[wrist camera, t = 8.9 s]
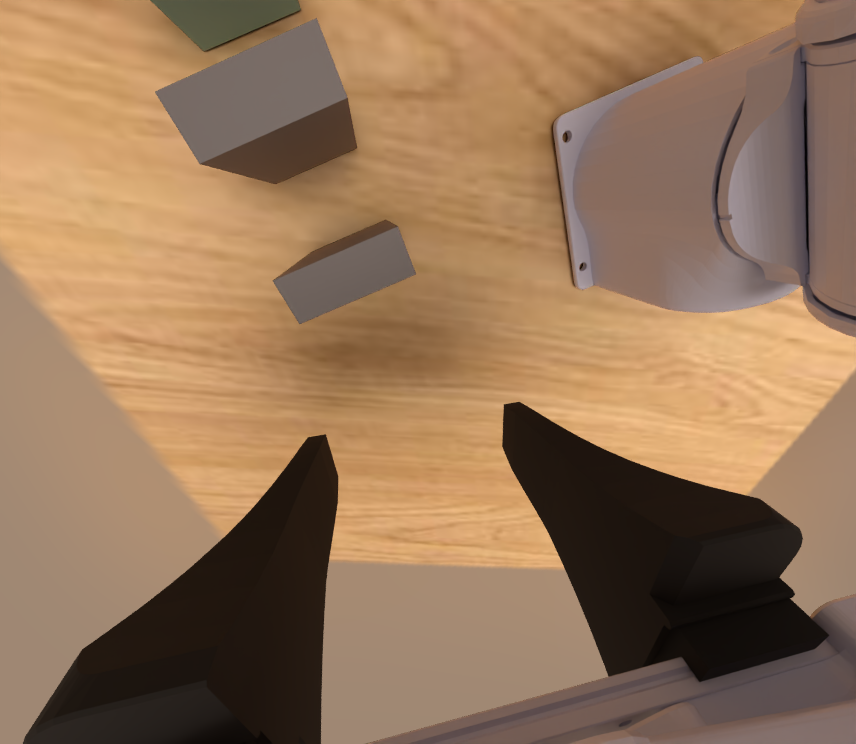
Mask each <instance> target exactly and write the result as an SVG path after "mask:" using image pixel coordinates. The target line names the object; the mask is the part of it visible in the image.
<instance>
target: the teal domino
mask: <svg viewBox="0 0 856 744" xmlns="http://www.w3.org/2000/svg"><path fill="white" fill-rule="evenodd" d="M151 1H152V2H153V3H154V4H155V5H156V6H157V7H158V8H159V9H160V10H161V11H162V12H163V13H164V14H165V15H166V16H167V17H168V18H169V19H170V20H172V21H173V22H174V23H175V24H176V25H177V26H178V27H179V28H180V29H181V30H182V31H183V32H184V33H185V34H186V35H187V36H188V37H189V38H190V39H191V40H192V41H193V42H194V43H196V44H197V45H198V46H199V47H200V48H201V49H202V50H203V51H206V50H208V49H211V48H213V47H215V46H218V45H220V44H222V43H225V42H227V41H229V40H232V39H234V38H236V37H239V36H241V35H243V34H246V33H248V32H250V31H253V30H255V29H257V28H259V27H262V26H264V25H266V24H269V23H271V22H273V21H276V20H278V19H280V18H283V17H285V16H287V15H290V14H292V13H294V12H297V11H299V10H301V9H300V6H299V3H298V0H151Z"/></svg>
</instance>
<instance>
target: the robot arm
mask: <svg viewBox="0 0 856 744" xmlns="http://www.w3.org/2000/svg"><path fill="white" fill-rule="evenodd" d="M564 132H566V133H567V135H568V139H567V141H566V143H565V142H563V139H562V137H563V134H564ZM553 133H554V140H555V147H556V155H557V162H558V169H559V176H560V183H561V190H562V198H563V205H564V212H565V219H566V226H567V234H568V241H569V248H570V255H571V262H572V270H573V277H574V284H575V286H576V287H577V288H578V289H582V290H583V289H587V288H589V287H591V286H594V285H595V286H598V287H601V288H604V289H607V290H610V291H613V292H616V293H619V294H622V295H625V296H628V297H631V298H634V299H637V300H640V301H643V302H646V303H649V304H652V305H655V306H658V307H661V308H665V309H669V310H674V311H682V312H698V313H712V312H726V311H734V310H740V309H745V308H750V307H754V306H758V305H762V304H766V303H769V302H772V301H775V300H777V299H780V298H782V297H784V296H787V295H788V294H790V293H792V292H793V291H795V290H796V289H797V288H798V287H799V286H803V301H804V303H805V305H806V307H807V309H808V311H809V312H810V313H811V314H812V315H813V316H814V317H815V318H816V319H817V320H818V321H820V322H821V323H823V324H825V325H826V326H828V327H829V328H832V329H834V330H836V331H839V332H841V333H844V334H846V335H849V336H853V337H856V0H805V1H804V3H803V4H802V6H801V7H800V9H799V10H798V12H797V14H796V18H795V23H793V24H791V25H788V26H786V27H784V28H782V29H779V30H777V31H775V32H772V33H770V34H768V35H766V36H763V37H761V38H759V39H756V40H754V41H752V42H750V43H747V44H745V45H743V46H740V47H738V48H736V49H734V50H731V51H729V52H727V53H724V54H722V55H720V56H718V57H715V58H713V59H711V60H709V61H706V62H704V63H703V60H702V58H701V57H699V56H696V57H693V58H691V59H688V60H686V61H684V62H681V63H679V64H677V65H675V66H672V67H670V68H668V69H665V70H663V71H661V72H659V73H656V74H654V75H652V76H649V77H647V78H645V79H643V80H640V81H638V82H636V83H633V84H631V85H629V86H626V87H624V88H622V89H620V90H617V91H615V92H613V93H610V94H608V95H606V96H604V97H601V98H599V99H597V100H594V101H592V102H590V103H588V104H585V105H583V106H581V107H578V108H576V109H574V110H572V111H569V112H567V113H565V114H563V115H561V116H559V117H558V118H557V119H556V120H555V122H554V125H553ZM581 263H583V267H582V269H580V270H579V266H580V264H581ZM502 447H503V449H504V452H505V454H506V457H507V459H508V461H509V464H510V466H511V468H512V470H513V472H514V474H515V476H516V477H517V479H518V481H519V483H520V484H521V486H522V488H523V490H524V491H525V493H526V495H527V496H528V498H529V500H530V501H531V503H532V505H533V507H534V508H535V510H536V512H537V513H538V515H539V517H540V518H541V520H542V522H543V524H544V526H545V527H546V529H547V531H548V533H549V535H550V537H551V539H552V542H553V544H554V546H555V548H556V550H557V552H558V554H559V557H560V559H561V561H562V563H563V565H564V568H565V570H566V572H567V574H568V577H569V579H570V581H571V584H572V586H573V588H574V591H575V593H576V595H577V598H578V600H579V602H580V605H581V607H582V610H583V612H584V615H585V617H586V619H587V622H588V624H589V627H590V629H591V632H592V634H593V637H594V639H595V642H596V645H597V647H598V650H599V652H600V655H601V657H602V660H603V663H604V665H605V668H606V671H607V673H608V676H609V677H606V678H603V679H599V680H596V681H592V682H588V683H585V684H581V685H577V686H574V687H570V688H567V689H563V690H559V691H556V692H552V693H548V694H544V695H541V696H537V697H533V698H530V699H526V700H523V701H519V702H515V703H512V704H509V705H504V706H501V707H497V708H494V709H490V710H486V711H483V712H479V713H476V714H472V715H468V716H464V717H461V718H457V719H453V720H450V721H446V722H443V723H439V724H435V725H432V726H428V727H424V728H421V729H417V730H413V731H410V732H407V733H403V734H399V735H396V736H392V737H388V738H385V739H381V740H377V741H374V742H370V743H366V744H856V594H853V595H850V596H846V597H843V598H839V599H835V600H832V601H829V602H827V603H825V604H823V605H822V606H820V607H819V608H818V609H816V610H815V611H814V612H813V613H812V615H811V616H810V617H809V616H808V615H807V614H806V613H805V612H804V611H803V610H802V609H801V608H799V607H798V606H797V605H796V604H795V603H794V602H793V601H792V600H791V599H790V598H792V597H793V596H794V595H795V593H794V591H793V590H792V589H791V588H790V587H789V586H788V585H787V584H786V583H785V582H784V581H782V580H781V579H780V578H779V577H780V575H781V574H782V573H783V572H784V570H785V569H786V568H787V566H788V565H789V564H790V562H791V561H792V560H793V558H794V557H795V556H796V554H797V552H798V551H799V549H800V547H801V544H802V539H803V538H802V534H801V531H800V529H799V528H798V527H797V526H795V525H794V524H793V523H791V522H790V521H789V520H787V519H786V518H785V517H783V516H782V515H781V514H779V513H778V512H777V511H775V510H774V509H773V508H771V507H770V506H769V505H767V504H766V503H765V502H763V501H762V500H760V499H758V498H754V497H750V496H746V495H742V494H738V493H733V492H729V491H725V490H721V489H717V488H713V487H709V486H705V485H702V484H698V483H695V482H692V481H688V480H685V479H681V478H678V477H675V476H672V475H669V474H666V473H663V472H660V471H657V470H654V469H651V468H649V467H646V466H643V465H640V464H638V463H635V462H633V461H630V460H628V459H625V458H623V457H620V456H618V455H616V454H614V453H611V452H609V451H607V450H604V449H602V448H600V447H598V446H596V445H594V444H592V443H590V442H588V441H586V440H584V439H582V438H580V437H578V436H577V435H575V434H573V433H571V432H569V431H568V430H566V429H564V428H562V427H561V426H559V425H557V424H555V423H554V422H552V421H550V420H549V419H547V418H546V417H544V416H542V415H541V414H539V413H537V412H536V411H534V410H532V409H531V408H529V407H527V406H526V405H524V404H522V403H520V402H516V403H510V404H504V415H503V444H502ZM337 504H338V474H337V471H336V467H335V464H334V461H333V457H332V454H331V450H330V447H329V444H328V440H327V437H326V434H325V435H319V436H313V437H308V438H307V440H306V441H305V442H304V444H303V445H302V446H301V448H300V449H299V450H298V452H297V453H296V454H295V456H294V457H293V459H292V460H291V461H290V463H289V464H288V465H287V467H286V468H285V469H284V471H283V472H282V473H281V474H280V476H279V477H278V478H277V480H276V481H275V482H274V483H273V485H272V486H271V487H270V488H269V490H268V491H267V492H266V493H265V494H264V495H263V497H262V498H261V499H260V500H259V501H258V503H257V504H256V505H255V506H254V507H253V508H252V509H251V510H250V512H249V513H248V514H247V515H246V516H245V517H244V518H243V519H242V520H241V521H240V522H239V523H238V524H237V525H236V526H235V527H234V528H233V529H232V530H231V531H230V532H229V533H228V534H227V535H226V536H225V537H224V538H223V539H222V540H221V541H220V542H218V544H216V545H215V546H214V547H213V548H212V549H211V550H210V551H209V552H208V553H206V554H205V555H204V556H203V557H202V558H201V559H200V560H199V561H198V562H196V563H195V564H194V565H193V566H192V567H191V568H190V569H188V570H187V571H186V572H185V573H184V574H182V575H181V576H180V577H179V578H177V579H176V580H175V581H174V582H173V583H171V584H170V585H169V586H168V587H166V588H165V589H164V590H163V591H161V592H160V593H159V594H157V595H156V596H155V597H154V598H153V599H151V600H150V601H148V602H147V603H146V604H145V605H143V606H142V607H141V608H139V609H138V610H137V611H135V612H134V613H132V614H131V615H130V616H128V617H127V618H126V619H124V620H123V621H121V622H120V623H119V624H117V625H116V626H114V627H113V628H112V629H110V630H109V631H108V632H106V633H105V634H104V635H102V636H101V637H99V638H98V639H97V640H95V641H94V642H93V643H91V644H89V645H88V646H87V647H85V648H84V649H82V651H81V652H80V654H79V655H78V657H77V658H76V660H75V661H74V663H73V664H72V666H71V667H70V669H69V670H68V672H67V673H66V675H65V676H64V678H63V680H62V681H61V683H60V684H59V686H58V687H57V689H56V690H55V692H54V694H53V695H52V696H51V698H50V699H49V701H48V703H47V704H46V706H45V707H44V709H43V710H42V712H41V713H40V715H39V716H38V718H37V719H36V721H35V723H34V724H33V725H32V727H31V729H30V730H29V732H28V733H27V735H26V736H25V739H24V742H23V744H321V689H322V654H323V630H324V608H325V592H326V578H327V569H328V563H329V556H330V550H331V543H332V537H333V531H334V524H335V517H336V511H337Z"/></svg>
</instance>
